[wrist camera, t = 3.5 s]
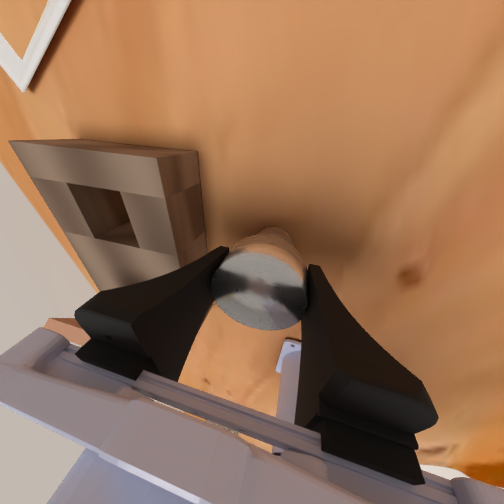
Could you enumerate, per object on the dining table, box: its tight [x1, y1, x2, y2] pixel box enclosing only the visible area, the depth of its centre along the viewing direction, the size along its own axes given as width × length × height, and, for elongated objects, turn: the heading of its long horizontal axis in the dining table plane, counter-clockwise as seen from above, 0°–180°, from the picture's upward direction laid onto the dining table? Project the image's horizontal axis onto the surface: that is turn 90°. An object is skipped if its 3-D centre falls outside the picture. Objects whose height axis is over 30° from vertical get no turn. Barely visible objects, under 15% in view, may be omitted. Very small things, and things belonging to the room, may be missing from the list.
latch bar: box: [43, 318, 91, 346], centre depth 15 cm, size 8×4×1 cm
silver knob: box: [211, 227, 307, 330], centre depth 12 cm, size 5×5×6 cm
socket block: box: [8, 139, 212, 331], centre depth 16 cm, size 10×16×4 cm, turn 176°
